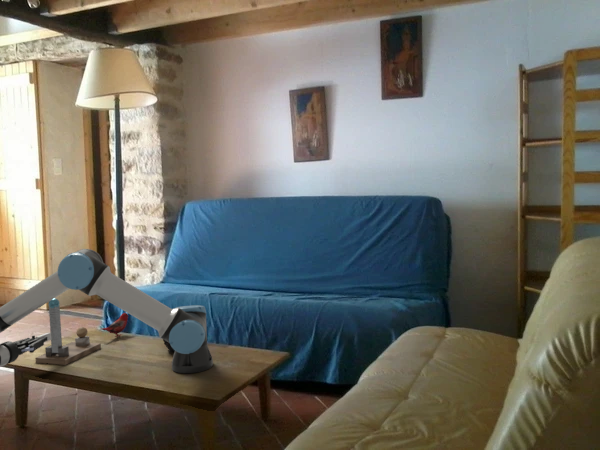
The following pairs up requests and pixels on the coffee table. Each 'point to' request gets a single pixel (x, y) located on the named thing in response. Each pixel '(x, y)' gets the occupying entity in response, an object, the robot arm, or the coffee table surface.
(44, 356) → the nutcracker base
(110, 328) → the decorative bird figurine
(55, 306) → the lever
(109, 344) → the coffee table surface
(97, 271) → the robot arm
